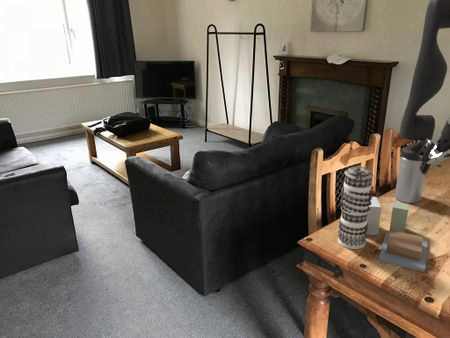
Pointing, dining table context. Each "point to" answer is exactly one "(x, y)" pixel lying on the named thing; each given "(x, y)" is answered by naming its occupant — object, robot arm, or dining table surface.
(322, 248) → the dining table surface
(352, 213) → the decorative candle
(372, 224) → the small box
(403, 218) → the sage block
